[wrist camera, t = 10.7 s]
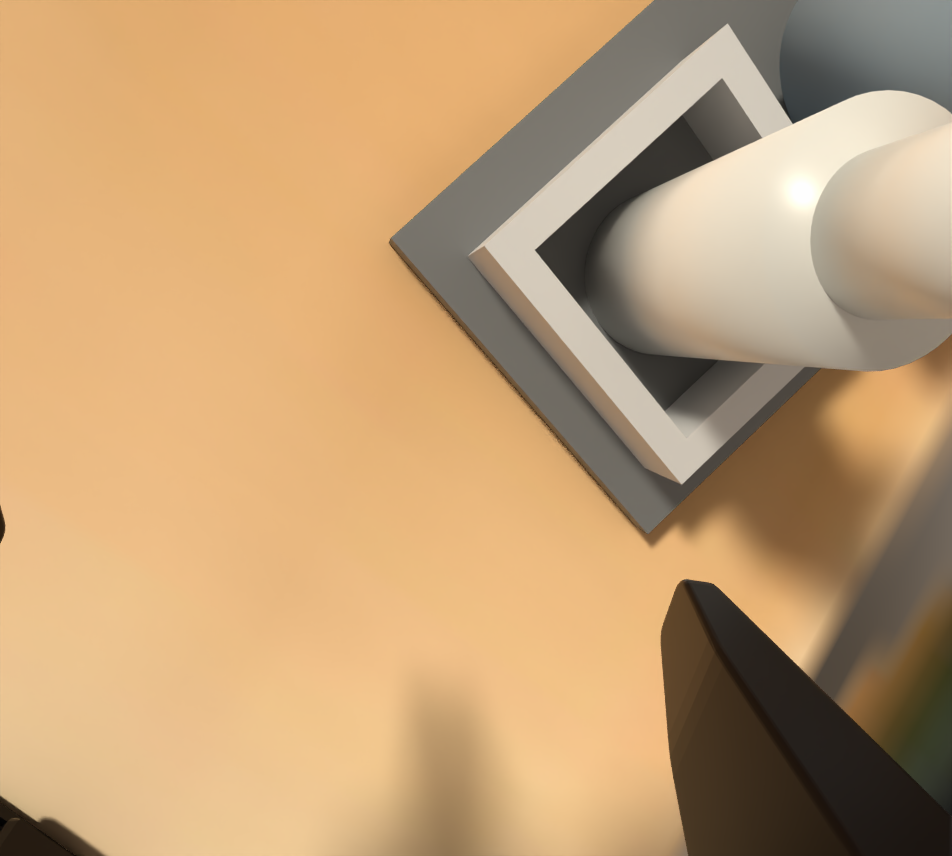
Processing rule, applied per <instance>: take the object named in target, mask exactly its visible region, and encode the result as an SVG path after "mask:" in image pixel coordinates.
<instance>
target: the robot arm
mask: <svg viewBox="0 0 952 856" xmlns="http://www.w3.org/2000/svg"><path fill="white" fill-rule="evenodd" d="M4 533H5V521H4V517H3V514H2V510H1V506H0V543H1V541H2V539H3V536H4ZM661 654H662V667H663V680H664V693H665V705H666V718H667V731H668V743H669V753H670V760H671V767H672V773H673V779H674V784H675V789H676V794H677V799H678V805H679V810H680V815H681V820H682V826H683V831H684V836H685V841H686V846H687V852H688V856H952V817H951V815H950V814H949V813H947V812H946V811H945V810H944V809H943V808H942V807H941V806H940V805H939V804H938V803H937V802H936V801H935V800H934V799H933V798H932V797H931V796H930V795H929V794H928V793H927V792H926V791H925V790H924V789H923V788H922V787H921V786H920V785H919V784H918V783H917V782H916V781H915V780H914V779H913V778H912V777H911V776H910V775H909V774H908V773H907V772H906V771H905V770H904V769H903V768H902V767H901V766H900V765H899V764H897V763H896V762H895V761H894V760H893V759H892V758H891V757H890V756H889V755H888V754H887V753H886V752H885V751H884V750H883V749H882V748H881V747H880V746H879V745H878V744H877V743H876V742H875V741H874V740H873V739H872V738H871V737H870V736H869V735H868V734H867V733H866V732H865V731H864V730H863V729H862V728H861V727H860V726H859V725H858V724H857V723H856V722H855V721H854V720H853V719H852V718H851V717H850V716H849V715H848V714H846V713H845V712H844V711H843V710H842V709H841V708H840V707H839V706H838V705H837V704H836V703H835V702H834V701H833V700H832V699H831V698H830V697H829V696H828V695H827V694H826V693H825V692H824V691H823V690H822V689H821V688H820V687H819V686H818V685H817V684H816V683H815V682H814V681H813V680H812V679H811V678H810V677H809V676H808V675H807V674H806V673H805V672H804V671H803V670H802V669H801V668H800V667H799V666H798V665H796V664H795V663H794V662H793V661H792V660H791V659H790V658H789V657H788V656H787V655H786V654H785V653H784V652H783V651H782V650H781V649H780V648H779V647H778V646H777V645H776V644H775V643H774V642H773V641H772V640H771V639H770V638H769V637H768V636H767V635H766V634H765V633H764V632H763V631H762V630H761V629H760V628H759V627H758V626H757V625H756V624H755V623H754V622H753V621H752V620H751V619H750V618H749V617H748V616H747V615H745V614H744V613H743V612H742V611H741V610H740V609H739V608H738V607H737V606H736V605H735V604H734V603H733V602H732V601H731V600H730V599H729V598H728V597H727V596H726V595H725V594H724V593H723V592H722V591H721V590H720V589H719V588H718V587H717V586H715V585H714V584H712V583H708V582H701V581H694V580H688V579H685V580H682V581H680V583H679V584H678V585H677V587H676V589H675V592H674V595H673V598H672V601H671V603H670V606H669V609H668V612H667V614H666V617H665V620H664V623H663V626H662V631H661ZM0 856H76V855H74V854H73V853H71V852H70V851H68V850H67V849H66V848H64V847H63V846H61V845H60V844H58V843H57V842H56V841H54V840H53V839H51V838H50V837H48V836H47V835H46V834H44V833H43V832H41V831H40V830H38V829H37V828H36V827H34V826H33V825H31V824H30V823H29V822H27V821H26V820H24V819H23V818H21V817H20V816H19V815H17V814H16V813H14V812H13V811H11V810H10V809H9V808H7V807H6V806H4V805H3V804H1V803H0Z"/></svg>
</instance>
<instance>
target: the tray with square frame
mask: <svg viewBox="0 0 952 856" xmlns="http://www.w3.org/2000/svg"><path fill="white" fill-rule="evenodd" d="M884 90H893V91H905V92H909V93H913V94H917V95H920V96H923V97H925V98H927V99H930V100H932V101H934V102H936V103H937V104H939V105H940V106H942V107H944V108H945V109H947V110H948V111H949V112H950V113H951V114H952V0H654V1H653V2H652V3H651V4H650V5H648V6H647V7H646V8H645V9H644V10H643V11H642V12H641V13H640V14H638V15H637V16H636V17H635V18H634V19H633V20H632V21H631V22H630V23H629V24H627V25H626V26H625V27H624V28H623V29H622V30H621V31H620V32H619V33H617V34H616V35H615V36H614V37H613V38H612V39H611V40H610V41H609V42H607V43H606V44H605V45H604V46H603V47H602V48H601V49H600V50H599V51H598V52H596V53H595V54H594V55H593V56H592V57H591V58H590V59H589V60H588V61H586V62H585V63H584V64H583V65H582V66H581V67H580V68H579V69H578V70H576V71H575V72H574V73H573V74H572V75H571V76H570V77H569V78H568V79H567V80H565V81H564V82H563V83H562V84H561V85H560V86H559V87H558V88H557V89H555V90H554V91H553V92H552V93H551V94H550V95H549V96H548V97H547V98H545V99H544V100H543V101H542V102H541V103H540V104H539V105H538V106H537V107H535V108H534V109H533V110H532V111H531V112H530V113H529V114H528V115H527V116H526V117H524V118H523V119H522V120H521V121H520V122H519V123H518V124H517V125H516V126H514V127H513V128H512V129H511V130H510V131H509V132H508V133H507V134H506V135H504V136H503V137H502V138H501V139H500V140H499V141H498V142H497V143H496V144H495V145H493V146H492V147H491V148H490V149H489V150H488V151H487V152H486V153H485V154H483V155H482V156H481V157H480V158H479V159H478V160H477V161H476V162H475V163H473V164H472V165H471V166H470V167H469V168H468V169H467V170H466V171H465V172H464V173H462V174H461V175H460V176H459V177H458V178H457V179H456V180H455V181H454V182H452V183H451V184H450V185H449V186H448V187H447V188H446V189H445V190H444V191H442V192H441V193H440V194H439V195H438V196H437V197H436V198H435V199H434V200H433V201H431V202H430V203H429V204H428V205H427V206H426V207H425V208H424V209H423V210H421V211H420V212H419V213H418V214H417V215H416V216H415V217H414V218H413V219H411V220H410V221H409V222H408V223H407V224H406V225H405V226H404V227H403V228H401V229H400V230H399V231H398V232H397V233H396V234H395V235H394V236H393V237H392V238H391V239H390V241H389V244H390V245H391V246H392V247H393V248H394V249H395V250H396V252H397V253H398V254H399V255H400V256H401V257H402V258H403V260H404V261H405V262H406V263H407V264H408V265H409V267H410V268H411V269H412V270H413V271H414V272H415V273H416V275H417V276H418V277H419V278H420V279H421V280H422V281H423V283H424V284H425V285H426V286H427V287H428V288H429V289H430V291H431V292H432V293H433V294H434V295H435V296H436V298H437V299H438V300H439V301H440V302H441V303H442V304H443V306H444V307H445V308H446V309H447V310H448V311H449V312H450V314H451V315H452V316H453V317H454V318H455V319H456V320H457V322H458V323H459V324H460V325H461V326H462V327H463V329H464V330H465V331H466V332H467V333H468V334H469V335H470V337H471V338H472V339H473V340H474V341H475V342H476V343H477V345H478V346H479V347H480V348H481V349H482V350H483V352H484V353H485V354H486V355H487V356H488V357H489V358H490V360H491V361H492V362H493V363H494V364H495V365H496V366H497V368H498V369H499V370H500V371H501V372H502V373H503V374H504V376H505V377H506V378H507V379H508V380H509V381H510V383H511V384H512V385H513V386H514V387H515V388H516V389H517V391H518V392H519V393H520V394H521V395H522V396H523V397H524V399H525V400H526V401H527V402H528V403H529V404H530V405H531V407H532V408H533V409H534V410H535V411H536V412H537V414H538V415H539V416H540V417H541V418H542V419H543V420H544V422H545V423H546V424H547V425H548V426H549V427H550V428H551V430H552V431H553V432H554V433H555V434H556V435H557V437H558V438H559V439H560V440H561V441H562V442H563V443H564V445H565V446H566V447H567V448H568V449H569V450H570V451H571V453H572V454H573V455H574V456H575V457H576V458H577V459H578V461H579V462H580V463H581V464H582V465H583V466H584V468H585V469H586V470H587V471H588V472H589V473H590V474H591V476H592V477H593V478H594V479H595V480H596V481H597V482H598V484H599V485H600V486H601V487H602V488H603V489H604V490H605V492H606V493H607V494H608V495H609V496H610V497H611V499H612V500H613V501H614V502H615V503H616V504H617V505H618V507H619V508H620V509H621V510H622V511H623V512H624V513H625V515H626V516H627V517H628V518H629V519H630V520H631V521H632V523H633V524H634V525H635V526H636V527H638V528H639V529H641V530H642V531H644V532H645V533H647V534H649V533H650V532H651V531H652V530H653V529H654V528H655V527H656V526H657V525H658V524H659V523H660V522H661V521H662V520H663V519H664V518H665V517H666V516H667V515H669V514H670V513H671V512H672V511H673V510H674V509H675V508H676V507H677V506H678V505H679V504H680V503H681V502H682V501H683V500H684V499H685V498H686V497H687V496H688V495H689V494H690V493H691V492H692V491H694V490H695V489H696V488H697V487H698V486H699V485H700V484H701V483H702V482H703V481H704V480H705V479H706V478H707V477H708V476H709V475H710V474H711V473H712V472H713V471H714V470H715V469H716V468H718V467H719V466H720V465H721V464H722V463H723V462H724V461H725V460H726V459H727V458H728V457H729V456H730V455H731V454H732V453H733V452H734V451H735V450H736V449H737V448H738V447H739V446H740V445H741V444H743V443H744V442H745V441H746V440H747V439H748V438H749V437H750V436H751V435H752V434H753V433H754V432H755V431H756V430H757V429H758V428H759V427H760V426H761V425H762V424H763V423H764V422H765V421H767V420H768V419H769V418H770V417H771V416H772V415H773V414H774V413H775V412H776V411H777V410H778V409H779V408H780V407H781V406H782V405H783V404H784V403H785V402H786V401H787V400H788V399H789V398H790V397H792V396H793V395H794V394H795V393H796V392H797V391H798V390H799V389H800V388H801V387H802V386H803V385H804V384H805V383H806V382H807V381H808V380H809V379H810V378H811V377H812V376H813V375H814V374H816V373H817V372H818V371H819V370H820V369H821V368H816V367H803V366H791V365H778V364H765V363H752V362H740V361H727V360H714V359H701V358H689V357H676V356H663V355H651V354H643V353H640V352H636V351H633V350H631V349H628V348H626V347H624V346H623V345H621V344H619V343H618V342H616V341H615V340H614V339H613V338H612V337H610V336H609V335H608V334H607V333H606V331H605V330H604V329H603V328H602V327H601V325H600V324H599V322H598V321H597V319H596V317H595V316H594V314H593V312H592V309H591V307H590V304H589V301H588V297H587V293H586V286H585V265H586V258H587V254H588V250H589V247H590V244H591V242H592V239H593V237H594V235H595V233H596V231H597V229H598V228H599V226H600V225H601V223H602V222H603V221H604V219H605V218H606V217H607V216H608V215H609V214H610V213H611V212H612V211H613V210H614V209H615V208H617V207H618V206H619V205H620V204H622V203H624V202H625V201H627V200H629V199H631V198H633V197H635V196H637V195H639V194H642V193H644V192H646V191H648V190H650V189H653V188H655V187H657V186H659V185H661V184H663V183H666V182H668V181H670V180H672V179H674V178H677V177H679V176H681V175H683V174H685V173H687V172H690V171H692V170H694V169H696V168H698V167H701V166H703V165H705V164H707V163H709V162H711V161H714V160H716V159H718V158H720V157H722V156H725V155H727V154H729V153H731V152H733V151H735V150H738V149H740V148H742V147H744V146H746V145H749V144H751V143H753V142H755V141H757V140H759V139H762V138H764V137H766V136H768V135H770V134H772V133H775V132H777V131H779V130H781V129H783V128H786V127H788V126H790V125H792V124H794V123H796V122H799V121H801V120H803V119H805V118H807V117H810V116H812V115H814V114H816V113H818V112H820V111H823V110H825V109H827V108H829V107H831V106H834V105H836V104H838V103H840V102H842V101H845V100H847V99H849V98H852V97H854V96H857V95H861V94H864V93H868V92H873V91H884Z"/></svg>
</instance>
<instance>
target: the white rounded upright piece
mask: <svg viewBox="0 0 952 856" xmlns="http://www.w3.org/2000/svg"><path fill="white" fill-rule="evenodd" d="M585 286H586V293H587V297H588V301H589V304H590V307H591V309H592V312H593V314H594V316H595V317H596V319H597V321H598V322H599V324H600V325H601V327H602V328H603V329H604V330H605V331H606V333H607V334H608V335H609V336H610V337H612V338H613V339H614V340H615V341H616V342H618V343H619V344H621V345H623V346H624V347H626V348H628V349H631V350H633V351H636V352H640V353H643V354H651V355H663V356H676V357H689V358H701V359H714V360H727V361H740V362H752V363H765V364H778V365H791V366H803V367H816V368H829V369H842V370H854V371H883V370H888V369H894V368H897V367H900V366H903V365H906V364H909V363H911V362H913V361H915V360H917V359H919V358H921V357H923V356H925V355H926V354H928V353H929V352H931V351H932V350H934V349H935V348H937V347H938V346H939V345H940V344H941V343H943V342H944V341H945V340H946V339H947V338H948V337H949V336H950V335H951V334H952V114H951V113H950V112H949V111H948V110H947V109H945V108H944V107H942V106H940V105H939V104H937V103H936V102H934V101H932V100H930V99H927V98H925V97H923V96H920V95H917V94H913V93H909V92H905V91H893V90H884V91H873V92H868V93H864V94H861V95H857V96H854V97H852V98H849V99H847V100H845V101H842V102H840V103H838V104H836V105H834V106H831V107H829V108H827V109H825V110H823V111H820V112H818V113H816V114H814V115H812V116H810V117H807V118H805V119H803V120H801V121H799V122H796V123H794V124H792V125H790V126H788V127H786V128H783V129H781V130H779V131H777V132H775V133H772V134H770V135H768V136H766V137H764V138H762V139H759V140H757V141H755V142H753V143H751V144H749V145H746V146H744V147H742V148H740V149H738V150H735V151H733V152H731V153H729V154H727V155H725V156H722V157H720V158H718V159H716V160H714V161H711V162H709V163H707V164H705V165H703V166H701V167H698V168H696V169H694V170H692V171H690V172H687V173H685V174H683V175H681V176H679V177H677V178H674V179H672V180H670V181H668V182H666V183H663V184H661V185H659V186H657V187H655V188H653V189H650V190H648V191H646V192H644V193H642V194H639V195H637V196H635V197H633V198H631V199H629V200H627V201H625V202H624V203H622V204H620V205H619V206H618V207H617V208H615V209H614V210H613V211H612V212H611V213H610V214H609V215H608V216H607V217H606V218H605V219H604V221H603V222H602V223H601V225H600V226H599V228H598V229H597V231H596V233H595V235H594V237H593V239H592V242H591V244H590V247H589V250H588V254H587V258H586V265H585Z"/></svg>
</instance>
